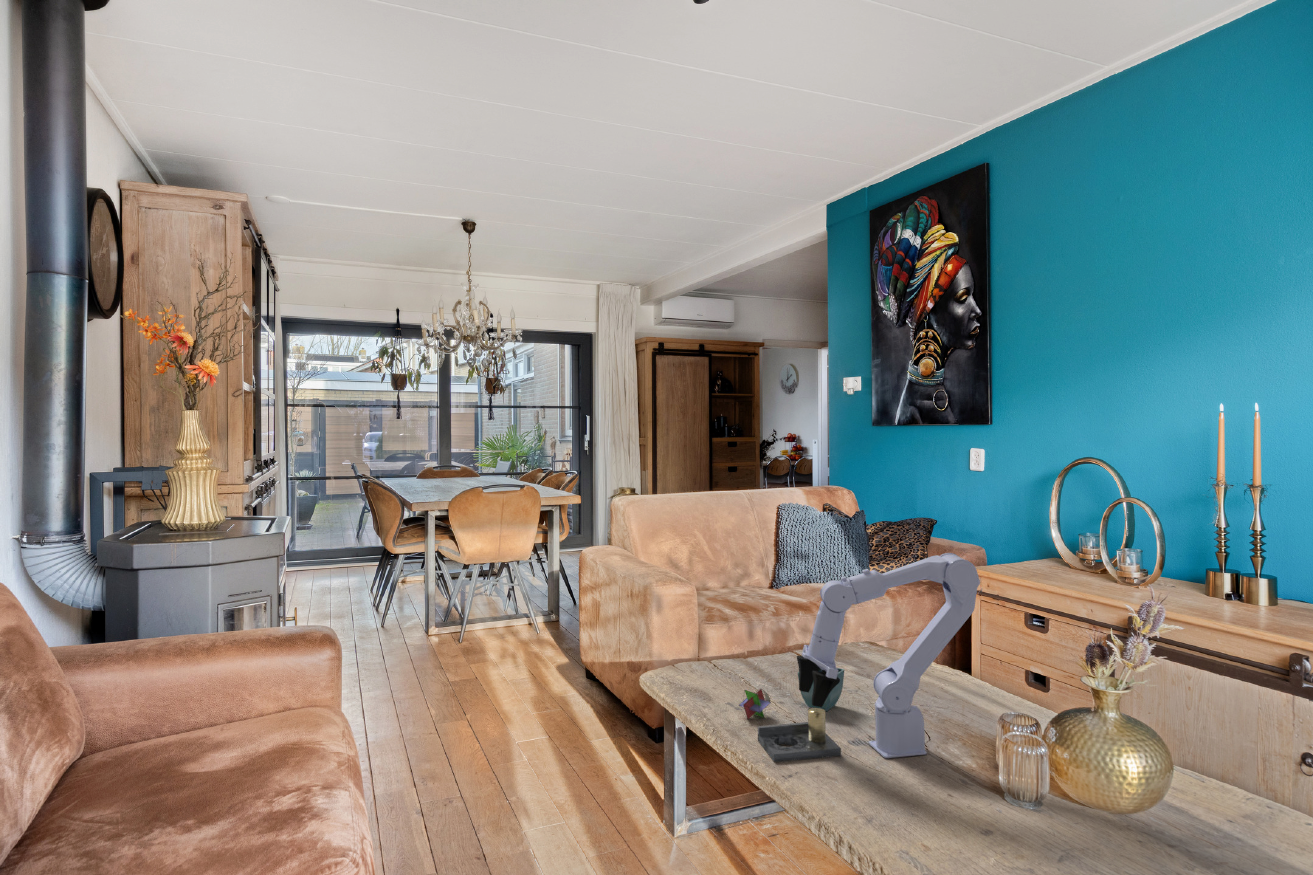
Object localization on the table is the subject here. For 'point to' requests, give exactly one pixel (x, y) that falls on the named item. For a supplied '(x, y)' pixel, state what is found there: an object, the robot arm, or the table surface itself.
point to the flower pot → (831, 697)
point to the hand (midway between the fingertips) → (810, 698)
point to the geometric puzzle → (755, 703)
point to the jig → (794, 743)
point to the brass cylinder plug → (816, 725)
